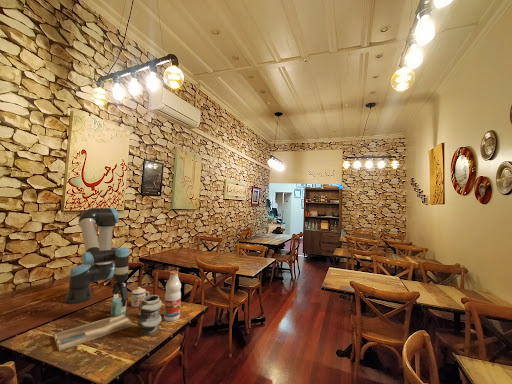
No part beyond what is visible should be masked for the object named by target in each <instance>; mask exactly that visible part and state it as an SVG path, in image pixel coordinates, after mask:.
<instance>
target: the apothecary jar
mask: <svg viewBox="0 0 512 384" xmlns="http://www.w3.org/2000/svg"><path fill="white" fill-rule="evenodd" d="M162 305H163V301H162V300H161V299H160V296H159V295H157V294H149V296H147V295H145V297H144V298H143V300H142V302H141V303H140V304H139V307H138V309H139V311H140V316H139V318H138V320H137V325H138V327H139V328H141V329H139V332H138V333H139V335H141V336H146V337H147V336H152V335H155V334H157V333H158V332H159V330H160V329H159V326H158V325H159V324H160V323H161V322H162V321H163V320H162V317H163V316H161V314H160V310H161V309H160V308H162Z"/></svg>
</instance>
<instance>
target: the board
mask: <svg viewBox="0 0 512 384" xmlns="http://www.w3.org/2000/svg"><path fill="white" fill-rule="evenodd" d="M132 326H133V322H132V321H131V320H130V319H129V318H128V317H127V315H126V316H125V315H124V314H119V315H116V316H114V315H112V316H110V317H107V318H103V319H100V320H97V321H93V322H90V323H86V324H83V325H79V326H77V327H76V326H75V327H73V328H69V329H66V330H63V331H59V332H56V333H54V334H53V339H54V342H55V345H56V348H57V350H58V352H61V351H64V350H67V349H70V348H73V347H75V346H78V345H81V344H83V343H84V344H85V343H87V342H89V341H93V340H96V339H98V338H102V337H104V336H107V335H110V334H113V333H117V332H119V331H122V330H125V329H128V328H131V327H132Z"/></svg>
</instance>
